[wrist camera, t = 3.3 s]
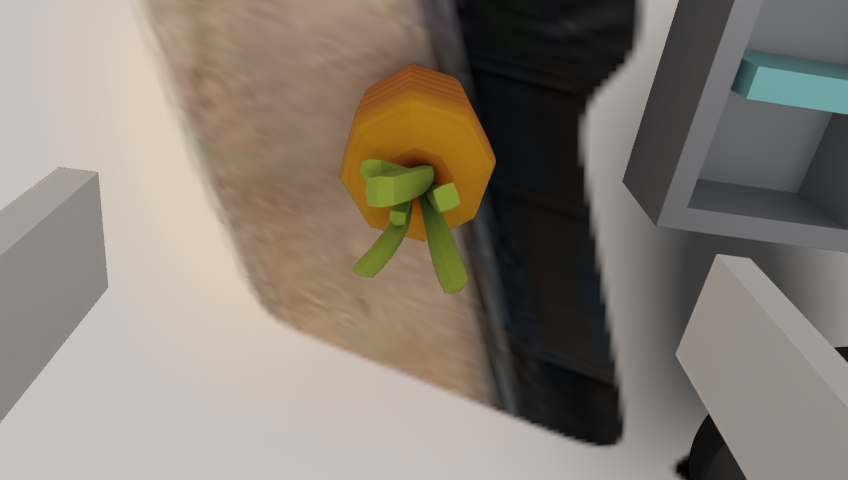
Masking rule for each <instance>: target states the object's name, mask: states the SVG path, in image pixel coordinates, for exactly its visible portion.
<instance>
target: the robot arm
mask: <svg viewBox="0 0 848 480" xmlns="http://www.w3.org/2000/svg"><path fill="white" fill-rule="evenodd" d="M107 288H108V280H107V269H106V257H105V246H104V234H103V223H102V212H101V200H100V188H99V178H98V172H92V171H84V170H77V169H70V168H62V167H58V168H57V169H56V170H54V171H53V172H52V173H50V174H49V175H48V176H46V177H45V178H44V179H42V180H41V181H40V182H38V183H37V184H36V185H34V186H33V187H32V188H30V189H29V190H28V191H26V192H25V193H24V194H22V195H21V196H20V197H18V198H17V199H16V200H14V201H13V202H12V203H10V204H9V205H8V206H6V207H5V208H3V209H2V210H1V211H0V422H1V421H2V420H3V419H4V417H5V416H6V415H7V414H8V412H9V411H10V410H11V409H12V407H13V406H14V405H15V404H16V402H17V401H18V400H19V399H20V397H21V396H22V395H23V394H24V392H25V391H26V390H27V389H28V387H29V386H30V385H31V383H32V382H33V381H34V380H35V379H36V377H37V376H38V375H39V373H40V372H41V371H42V370H43V368H44V367H45V366H46V365H47V363H48V362H49V361H50V360H51V358H52V357H53V356H54V355H55V353H56V352H57V351H58V350H59V348H60V347H61V346H62V344H63V343H64V342H65V341H66V340H67V338H68V337H69V336H70V334H71V333H72V332H73V331H74V329H75V328H76V327H77V326H78V324H79V323H80V322H81V321H82V319H83V318H84V317H85V316H86V314H87V313H88V312H89V311H90V309H91V308H92V307H93V306H94V304H95V303H96V302H97V301H98V299H99V298H100V297H101V296H102V294H103V293H104V292H105V291H106V289H107ZM675 355H676V356H677V358H678V360H679V362H680V363H681V365H682V367H683V369H684V370H685V372H686V374H687V375H688V377H689V379H690V381H691V383H692V384H693V386H694V388H695V389H696V391H697V393H698V395H699V397H700V398H701V400H702V402H703V404H704V405H705V407H706V409H707V411H708V412H709V414H708V416H707V417H706V418H705V420H704V421H703V423H702V424H701V426H700V428H699V430H698V432H697V434H696V436H695V438H694V441H693V444H692V447H691V451H690V456H689V474H690V479H691V480H848V347H837V348H833V347H832V346H831V344H830V343H829V342H828V341H827V340H826V339H825V338H824V337H823V336H822V335H821V334H820V333H819V332H818V331H817V329H815V327H813V325H812V324H811V323H810V322H809V321H808V320H807V319H806V318H805V317H804V316H803V315H802V313H801V312H800V311H799V310H798V309H797V308H796V307H795V306H794V305H793V304H792V303H791V302H790V301H789V300H788V298H786V296H785V295H784V294H783V293H782V292H781V291H780V290H779V289H778V288H777V287H776V286H775V285H774V283H773V282H771V280H770V279H769V278H768V277H767V276H766V275H765V274H764V273H763V272H762V271H761V270H760V269H759V268H758V267H757V265H756V264H755V263H754V262H753V261H752V260H751V259H750V258H743V257H735V256H728V255H721V254H717V255H716V257H715V260H714V262H713V264H712V267H711V269H710V272H709V274H708V276H707V279H706V281H705V284H704V286H703V289H702V291H701V293H700V296H699V298H698V301H697V303H696V306H695V308H694V310H693V313H692V315H691V318H690V320H689V323H688V325H687V327H686V330H685V332H684V335H683V337H682V339H681V342H680V344H679V347H678V349H677V352H676V354H675Z"/></svg>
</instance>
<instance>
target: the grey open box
mask: <svg viewBox="0 0 848 480" xmlns="http://www.w3.org/2000/svg"><path fill="white" fill-rule="evenodd" d="M745 50H751V51H757V52H764V53H770V54H776V55H782V56H789V57H795V58H801V59H807V60H814V61H820V62H826V63H832V64H839V65H845V66H848V0H679V2H678V5H677V8H676V11H675V15H674V18H673V21H672V24H671V27H670V31H669V34H668V37H667V40H666V43H665V47H664V50H663V54H662V56H661V59H660V63H659V66H658V69H657V72H656V75H655V79H654V82H653V85H652V88H651V92H650V95H649V98H648V101H647V104H646V108H645V111H644V114H643V117H642V120H641V124H640V127H639V130H638V133H637V137H636V140H635V143H634V146H633V149H632V153H631V156H630V159H629V162H628V165H627V169H626V172H625V175H624V178H623V183H624V184H625V186H626V187H627V188H628V190H629V191H630V192H631V194H632V195H633V196H634V198H635V199H636V200H637V202H638V203H639V204H640V206H641V207H642V208H643V210H644V211H645V212H646V214H647V215H648V216H649V218H650V219H651V220H652V222H653V223H654V224H655V225H656V226H658V227H665V228H672V229H680V230H687V231H694V232H701V233H709V234H716V235H723V236H731V237H738V238H745V239H752V240H760V241H767V242H774V243H782V244H789V245H796V246H804V247H811V248H819V249H825V250H833V251H840V252H848V114H842V113H835V112H829V111H822V110H816V109H809V108H803V107H796V106H790V105H783V104H777V103H770V102H764V101H757V100H751V99H746V98H744V97H742V96H741V95H739V94H737V93H735V92H734V91H732V90H730V89H731V87H732V84H733V81H734V78H735V76H736V73H737V70H738V68H739V65H740V62H741V59H742V57H743V54H744V51H745Z"/></svg>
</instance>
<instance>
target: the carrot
mask: <svg viewBox="0 0 848 480" xmlns="http://www.w3.org/2000/svg"><path fill="white" fill-rule="evenodd" d="M495 163H496V159H495V156H494V153H493V151H492V148H491V146H490V143H489V141H488V138H487V136H486V134H485V132H484V130H483V128H482V126H481V124H480V122H479V120H478V118H477V116H476V114H475V112H474V110H473V108H472V106H471V104H470V102H469V100H468V98H467V96H466V94H465V92H464V90H463V88H462V86H461V84H460V82H459V81H458V80H457V79H455V78H454V77H452V76H449V75H447V74H444V73H441V72H437V71H434V70H431V69H428V68H425V67H422V66H418V65H415V64H411V65H410V66H408V67H406V68H404V69H402V70H400V71H398V72H396V73H395V74H393V75H391V76H389V77H387V78H385V79H383V80H381V81H380V82H378V83H376V84H374V85H373V86H371V87H370V88H369V89H367V91H366V93H365V95H364V96H363V98H362V100H361V102H360V105H359V107H358V109H357V112H356V114H355V117H354V121H353V124H352V128H351V132H350V135H349V139H348V143H347V147H346V150H345V154H344V158H343V161H342V165H341V169H340V174H339V177H340V179H341V180H342V182H343V184H344V185H345V187H346V188H347V190H348V192H349V193H350V195H351V196H352V198H353V200H354V201H355V203H356V205H357V206H358V208H359V209H360V211H361V213H362V214H363V216H364V217H365V219H366V221H367V222H368V224H369V225H370V227H372V228H376V229H379V230H383V231H384V233H383V234H382V235H381V236H380V238H379V239H378V240H377V241H376V243H375V244H374V245H373V246H372V247H371V248H370V249H369V251H368V252H367V253H366V254H365V255H364V256H363V257H362V258H361V259H360V260H359V262H358V263H357V264H356V265H355V267H354V268H353V271H354V272H355V273H356V274H358V275H359V276H363V277H374V276H375V275H376V274H377V273H378V272H379V271H380V270H381V269H382V268H383V267H384V265H385V264H386V263H387V262H388V261H389V260H390V258H391V257H392V256H393V254H394V253H395V251H396V250H397V248H398V246H399V245H400V243H401V242H402V240H403V238H404V236H405V237H409V238H412V239H416V240H419V241H423V242H424V241H427V240H428V244H429V248H430V253H431V257H432V261H433V265H434V268H435V271H436V274H437V277H438V280H439V282H440V284H441V286H442V288H443V290H444V292H445V293H452V294H453V293H456V292H459V291H461V290H462V289H463V288H464V286H465V285H466V283H467V280H468V276H467V273H466V270H465V267H464V264H463V262H462V260H461V257H460V255H459V253H458V250H457V248H456V245H455V243H454V240H453V238H452V235H451V233H450V229H452V228H454V227H456V226H459V225H461V224H463V223H465V222H467V221H469V220H471V219H474V217H475V215H476V213H477V210H478V207H479V205H480V202H481V200H482V197H483V194H484V192H485V189H486V187H487V184H488V181H489V179H490V176H491V174H492V171H493V168H494V166H495Z"/></svg>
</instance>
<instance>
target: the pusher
mask: <svg viewBox="0 0 848 480" xmlns="http://www.w3.org/2000/svg"><path fill="white" fill-rule="evenodd" d="M730 90H732V91H734V92H735V93H737V94H739V95H741V96H742V97H744V98H746V99H751V100H757V101H764V102H770V103H777V104H783V105H790V106H796V107H803V108H809V109H816V110H822V111H829V112H835V113H842V114H848V66H845V65H839V64H832V63H826V62H820V61H814V60H807V59H801V58H795V57H789V56H782V55H776V54H770V53H764V52H757V51H751V50H745V51H744V54H743V57H742V59H741V62H740V65H739V68H738V70H737V73H736V76H735V78H734V81H733V84H732V87H731V89H730Z"/></svg>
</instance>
